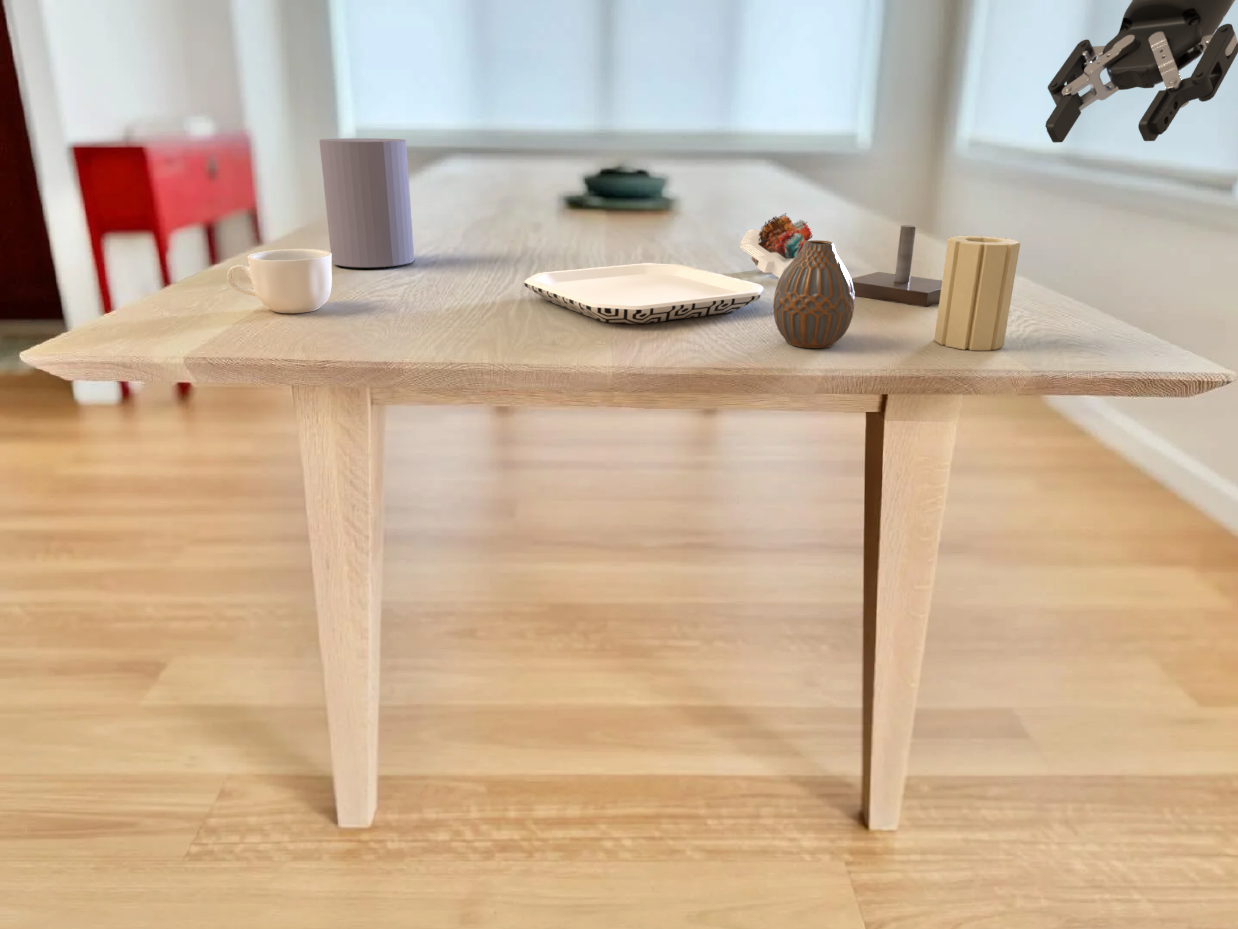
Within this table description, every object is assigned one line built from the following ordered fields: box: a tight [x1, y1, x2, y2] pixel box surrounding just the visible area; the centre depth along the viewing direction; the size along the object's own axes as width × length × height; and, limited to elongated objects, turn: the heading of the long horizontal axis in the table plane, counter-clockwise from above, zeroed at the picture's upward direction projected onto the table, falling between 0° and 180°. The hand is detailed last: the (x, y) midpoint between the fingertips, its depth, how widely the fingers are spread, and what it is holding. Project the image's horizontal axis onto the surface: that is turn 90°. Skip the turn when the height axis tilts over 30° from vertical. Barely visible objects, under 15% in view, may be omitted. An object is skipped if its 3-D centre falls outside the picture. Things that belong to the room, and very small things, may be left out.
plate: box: [523, 262, 765, 325], centre depth 97 cm, size 21×21×2 cm
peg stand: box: [851, 224, 943, 308], centre depth 101 cm, size 10×8×8 cm
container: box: [319, 137, 415, 270], centre depth 116 cm, size 10×10×15 cm
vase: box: [773, 239, 856, 349], centre depth 80 cm, size 7×7×9 cm
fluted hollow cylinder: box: [933, 235, 1021, 351], centre depth 81 cm, size 6×6×9 cm
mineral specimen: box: [739, 212, 813, 280], centre depth 116 cm, size 12×12×7 cm
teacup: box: [226, 248, 333, 314], centre depth 92 cm, size 10×8×5 cm
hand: (1097, 135), depth 81 cm, fingers open, 8 cm apart
